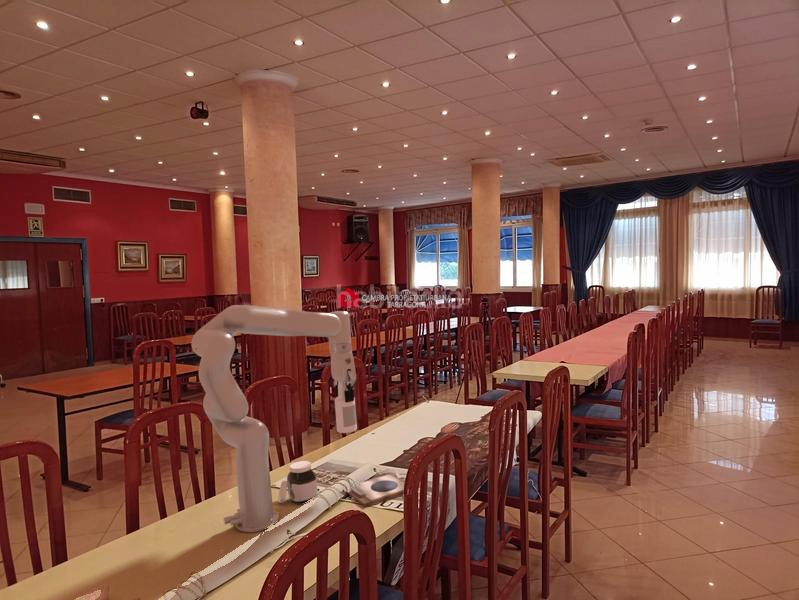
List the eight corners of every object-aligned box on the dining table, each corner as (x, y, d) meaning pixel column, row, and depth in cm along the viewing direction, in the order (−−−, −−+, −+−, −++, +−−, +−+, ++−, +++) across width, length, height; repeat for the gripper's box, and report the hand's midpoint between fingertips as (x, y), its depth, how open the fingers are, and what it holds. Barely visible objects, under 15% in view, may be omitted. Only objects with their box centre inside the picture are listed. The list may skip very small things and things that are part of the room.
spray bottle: (354, 433, 181) (350, 380, 180) (334, 433, 183) (330, 380, 181) (359, 427, 188) (355, 375, 187) (340, 427, 189) (336, 376, 188)
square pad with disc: (364, 507, 168) (364, 501, 168) (342, 490, 181) (342, 484, 181) (413, 491, 177) (413, 485, 177) (389, 476, 191) (388, 470, 190)
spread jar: (321, 500, 175) (318, 464, 175) (291, 512, 168) (287, 475, 167) (302, 490, 184) (299, 456, 184) (272, 501, 177) (269, 466, 176)
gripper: (362, 348, 178) (366, 402, 179) (339, 344, 193) (343, 393, 194) (342, 351, 174) (346, 406, 175) (319, 347, 189) (324, 397, 190)
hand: (344, 399), depth 185 cm, fingers closed on spray bottle, 6 cm apart
